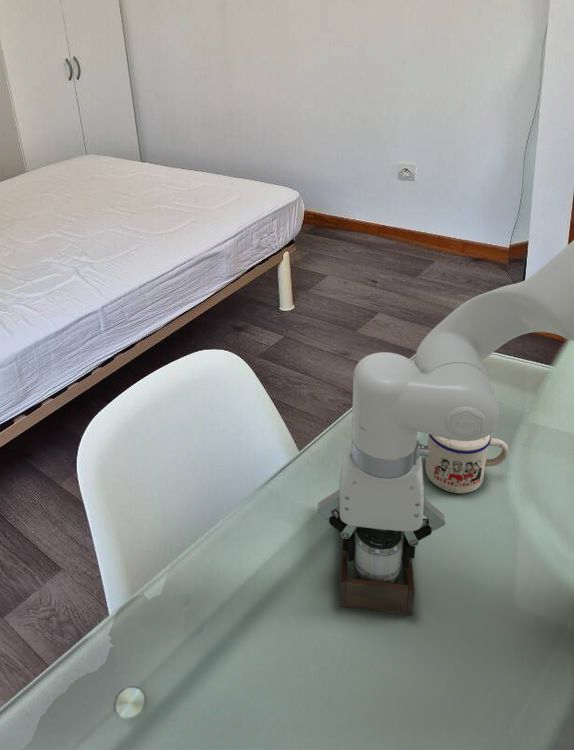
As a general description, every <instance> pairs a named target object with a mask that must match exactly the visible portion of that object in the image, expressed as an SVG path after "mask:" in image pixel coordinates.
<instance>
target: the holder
mask: <svg viewBox="0 0 574 750" xmlns="http://www.w3.org/2000/svg"><path fill="white" fill-rule="evenodd" d="M340 537H341V536H340ZM340 541H341V543H340V544H341V545H340V577H339V578H340V579H339V580H340V582H339V583H340V584H339V606H340V607H344V608H352V609H360V610H368V611H375V612H381V613H382V612H383V613H390V614H399V615H406V616H413V615H414V604H415V593H416V589H415V588H416V587H415V576H414V565H413V558H409V568H404V566H403V563H402V569H401V572H400V575H399V577H398V580H397V582H396V583H395V584H392V583H384V582H376V581H368V580H360V579H359V578H358V576H357V574H356V571H355V568H354V562H353V561H352V562H350V561H348V551H343V538H342V537H341V540H340Z"/></svg>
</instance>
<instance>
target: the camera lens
mask: <svg viewBox="0 0 574 750" xmlns="http://www.w3.org/2000/svg"><path fill="white" fill-rule="evenodd" d="M403 546H404V534H403V531H395V530H385V529H375V528H366V527H358V526H357V528H356V529H355V531H354V561H353V562H354V568H355V571H356V574H357V576H358V578H359V579H360V580H368V581H376V582H384V583H392V584H395V583H396V582H397V580H398V577H399V575H400V572H401V569H402V559H403Z"/></svg>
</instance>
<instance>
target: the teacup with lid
mask: <svg viewBox="0 0 574 750" xmlns="http://www.w3.org/2000/svg"><path fill="white" fill-rule="evenodd" d="M427 435H428V436H427V445H429V456H425V457H426V458H425V475H426V476H427V478H428V479H429V480H430V482H431V483H433V485H434V486H436V487H438V488H439V489H441V490H444V491H446V492H449V493H453V494H467V493H471V492H474V491H475V490H477V489H479V488H480V487H481V485H482V484H483V482H484V476H485V472H486V471H485V469H486V467H487V468H488V467H496V466H499V465H501V464H502V463H504V462H505V461H506V459H507V458H508V456H509V447H508V444H507V443H506V442H505V441H503V440H501V439H499V438H492V434H490V435H488V436H487V437H485V438H482V439H479V440H475V441H458V440H451V439H447V438H442V437H438V436H434V435H430V434H427ZM491 446H492V447H493V446H494V447H499V448H501V449H502V450H501V452H500V453H499V455H497V456H496V457H494V458H487V456H488V450H489V447H491Z"/></svg>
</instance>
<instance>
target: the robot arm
mask: <svg viewBox="0 0 574 750" xmlns="http://www.w3.org/2000/svg"><path fill="white" fill-rule="evenodd" d="M530 333H546V334H547V333H549V334H553V335H558V336H560V337H562V338H564V339H566V340H568V341H572V342H574V239H573V240H572V241H571V242H569V244H567V245H566V246H565V247H564V248H563V249H562V250H560V251H559V252H558V253H557V254H555V256H553V257H552V258H551V259H549V261H547V262H546V263H545V264H544V265H543V266H542V267H541V268H539V269H537V271H536V272H534V273H533V274H532V275H531V276H529V277H528V278H526V279H524V280H523V281H520V282H516V283H512V284H508V285H504V286H501V287H497V288H495V289H493V290H490V291H487V292H484V293H480V294H478V295H476V296H474V297H472V298H470V299H468V300H466V301H465V302H463V303H462V304H460V305H459V306H458V307H457V308H455V309H454V310H452V312H451V313H449V314H448V315H447V316H446V317H444V318H443V319H442V320H441V322H439V323H438V324H437V325H435V326H434V328H433V329H432V330H431V331H429V332H428V333H427V334H426V335H425V337H424V338H423V340H421V342H420V344H419V346H418V348H417V350H416V353H415V358H414V361H413V360H411V359H410V358H408V357H407V356H404V355H401V354H398V353H395V352H388V351H387V352H386V351H385V352H384V351H381V352H375V353H371V354H369V355H366V356H364V357H363V358H362V359H360V360H359V361H358V362H357V364H356V366H355V368H354V371H353V378H352V408H351V409H352V410H351V411H352V414H351V415H352V417H351V443H350V444H349V445H348V446H347V447H346V448H345V451H344V454H343V457H342V461H341V468H340V477H339V486H338V487H339V488H338V489H337V490H336V491H334V492H333V493H331V494H330V495H328V496H327V497H325V498H323V499H321V500H320V501H318V502H317V508H316V509H317V510H316V511H317V513H318V514H319V515H320V516H321V517H322V518H324V519H325V521H326V520H327V521H328V524H329V525H330V526H332V527H333V528H334V529H335V530H336V531H338V532H339V533H340V537H342V538H343V551H348V561H350V562H352V561H354V531H355V529H356V528H357V526H358V527H366V528H375V529H385V530H395V531H403V534H404V546H403V559H402V563H403V566H404V568H409V558H412V560H413V559H415V554H416V547H417V546H418V545H419V544H420V543H419V541H421V540H423V539H425V538H426V537H427V538H428V536H430V535H432V534H433V532H435V531H437V530H439V529H441V528H442V527H444V526H445V525H446V519H445V514H444V513H443V512H442V511H440V510H439V509H438V508H437V507H436V506H435V505H433V504H432V503H431V502H430V501H429V500H427V499H426V498H424V495H425V494H424V491H425V490H424V470H423V462H422V458H423V457H426V456H429V445H428V444H423V443H422V442H420V440H418V437H419V436H418V435H419V433H423V434H427V435H429V434H430V435H434V436H438V437H442V438H447V439H451V440H458V441H475V440H479V439H482V438H485V437H487V436H488V435H492V433H493V432H494V431H495V430H496V428H497V427H498V425H499V422H500V407H499V402H498V400H497V396H496V395H495V392H494V390H493V387H492V384H491V382H490V379H489V377H488V373H487V371H486V368H485V366H484V363H483V362H484V361H485V360H486V359H487V358H489V357H490V356H491V355H493V353H495V352H496V351H498V349H499V348H501V347H502V346H504V345H505V344H506V343H507V342H509V341H512V340H513V339H515V338H518V337H520V336H523V335H527V334H530ZM337 508H338V510H337ZM424 517H425V518H424Z"/></svg>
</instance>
